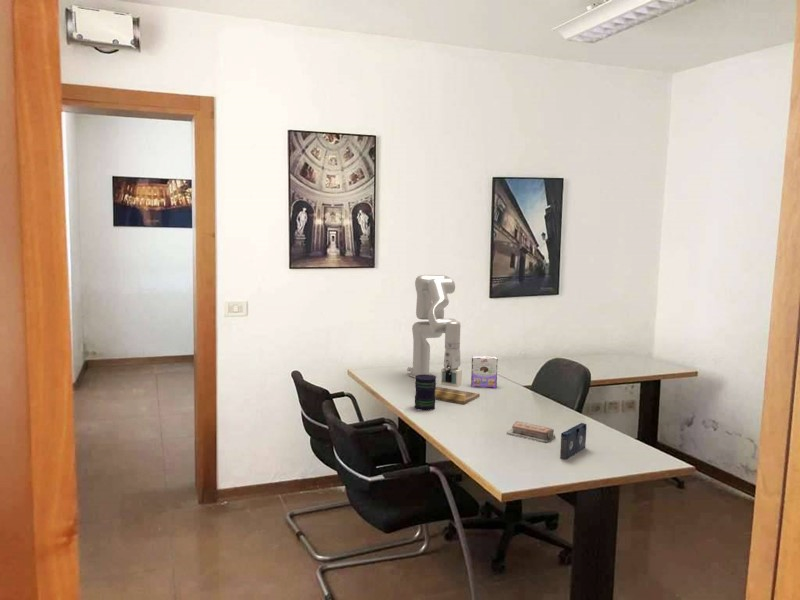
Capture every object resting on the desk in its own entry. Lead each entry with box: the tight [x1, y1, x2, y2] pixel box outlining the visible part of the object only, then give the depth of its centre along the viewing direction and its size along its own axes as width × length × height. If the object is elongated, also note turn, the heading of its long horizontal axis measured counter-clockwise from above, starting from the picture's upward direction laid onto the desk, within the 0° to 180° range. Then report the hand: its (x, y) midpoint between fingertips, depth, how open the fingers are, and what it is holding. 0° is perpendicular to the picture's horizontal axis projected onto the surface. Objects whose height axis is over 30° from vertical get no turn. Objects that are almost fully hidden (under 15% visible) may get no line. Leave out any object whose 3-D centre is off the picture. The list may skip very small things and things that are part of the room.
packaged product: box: [506, 420, 556, 444], centre depth 271 cm, size 18×5×10 cm
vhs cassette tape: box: [559, 422, 588, 461], centre depth 250 cm, size 18×3×10 cm, turn 140°
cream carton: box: [440, 368, 463, 388], centre depth 328 cm, size 5×9×8 cm, turn 59°
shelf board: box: [435, 386, 481, 405], centre depth 329 cm, size 24×18×4 cm
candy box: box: [470, 355, 498, 389], centre depth 351 cm, size 14×6×16 cm, turn 84°
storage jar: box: [414, 374, 437, 412], centre depth 307 cm, size 10×10×15 cm
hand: (451, 380), depth 328 cm, fingers closed on cream carton, 5 cm apart
